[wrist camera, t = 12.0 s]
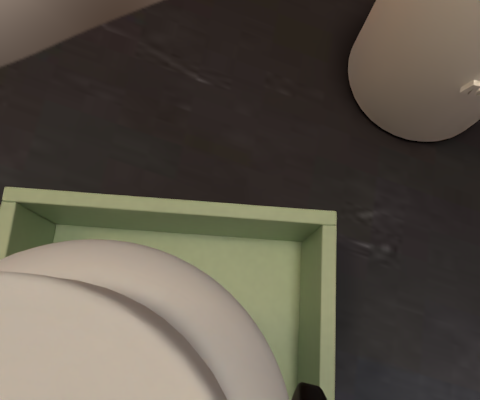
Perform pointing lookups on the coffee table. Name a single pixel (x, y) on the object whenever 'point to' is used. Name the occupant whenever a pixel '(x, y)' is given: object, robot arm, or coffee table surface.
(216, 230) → the open storage box
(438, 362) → the coffee table surface
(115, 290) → the pill bottle
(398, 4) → the mug
